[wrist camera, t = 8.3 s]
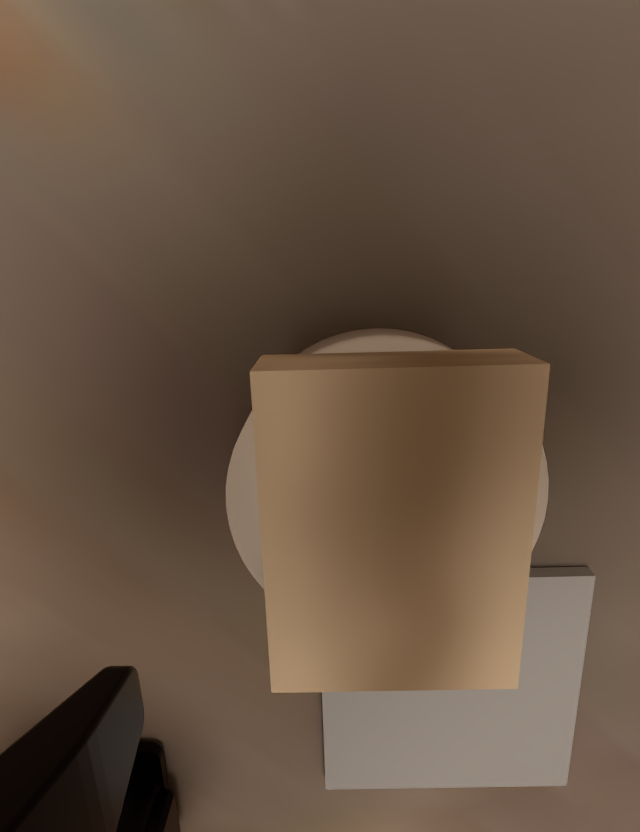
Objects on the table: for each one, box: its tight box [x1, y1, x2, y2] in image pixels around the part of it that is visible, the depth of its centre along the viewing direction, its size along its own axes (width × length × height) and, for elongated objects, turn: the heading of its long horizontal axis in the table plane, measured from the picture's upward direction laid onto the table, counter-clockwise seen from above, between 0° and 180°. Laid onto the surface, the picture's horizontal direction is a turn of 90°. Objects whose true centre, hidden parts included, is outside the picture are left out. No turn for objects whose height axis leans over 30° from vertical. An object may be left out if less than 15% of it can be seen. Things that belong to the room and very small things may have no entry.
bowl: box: [226, 328, 549, 589], centre depth 15 cm, size 8×8×5 cm
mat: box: [322, 567, 596, 790], centre depth 20 cm, size 10×10×1 cm
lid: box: [250, 348, 550, 693], centre depth 12 cm, size 6×8×2 cm
